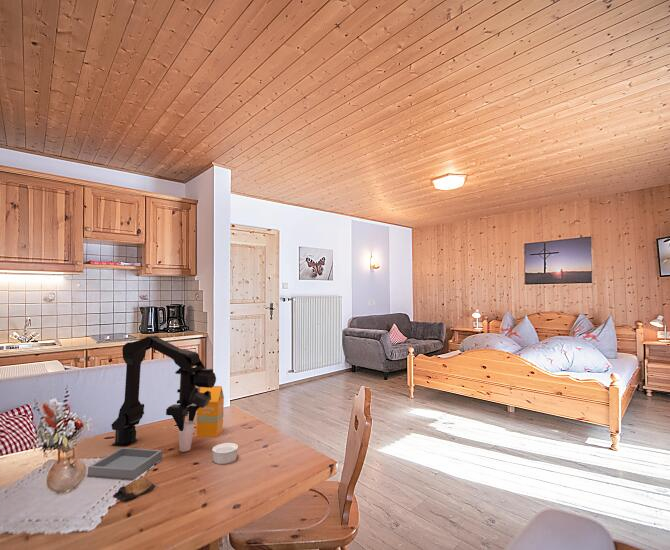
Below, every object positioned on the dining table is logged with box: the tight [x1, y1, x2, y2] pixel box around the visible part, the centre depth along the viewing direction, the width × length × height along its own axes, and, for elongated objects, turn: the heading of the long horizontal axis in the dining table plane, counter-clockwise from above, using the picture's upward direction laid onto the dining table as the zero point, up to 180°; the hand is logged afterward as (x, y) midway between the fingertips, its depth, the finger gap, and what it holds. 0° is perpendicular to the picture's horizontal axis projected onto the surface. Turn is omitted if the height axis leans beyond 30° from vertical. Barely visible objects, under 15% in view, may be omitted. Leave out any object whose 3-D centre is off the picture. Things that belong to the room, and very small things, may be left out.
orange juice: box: [195, 385, 225, 438], centre depth 156 cm, size 8×9×20 cm
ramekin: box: [211, 442, 239, 465], centre depth 131 cm, size 9×9×4 cm
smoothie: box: [176, 413, 196, 452], centre depth 138 cm, size 6×6×14 cm
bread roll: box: [112, 477, 159, 503], centre depth 108 cm, size 11×8×4 cm
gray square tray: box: [87, 447, 163, 481], centre depth 123 cm, size 16×16×3 cm
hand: (186, 427), depth 138 cm, fingers closed on smoothie, 6 cm apart
